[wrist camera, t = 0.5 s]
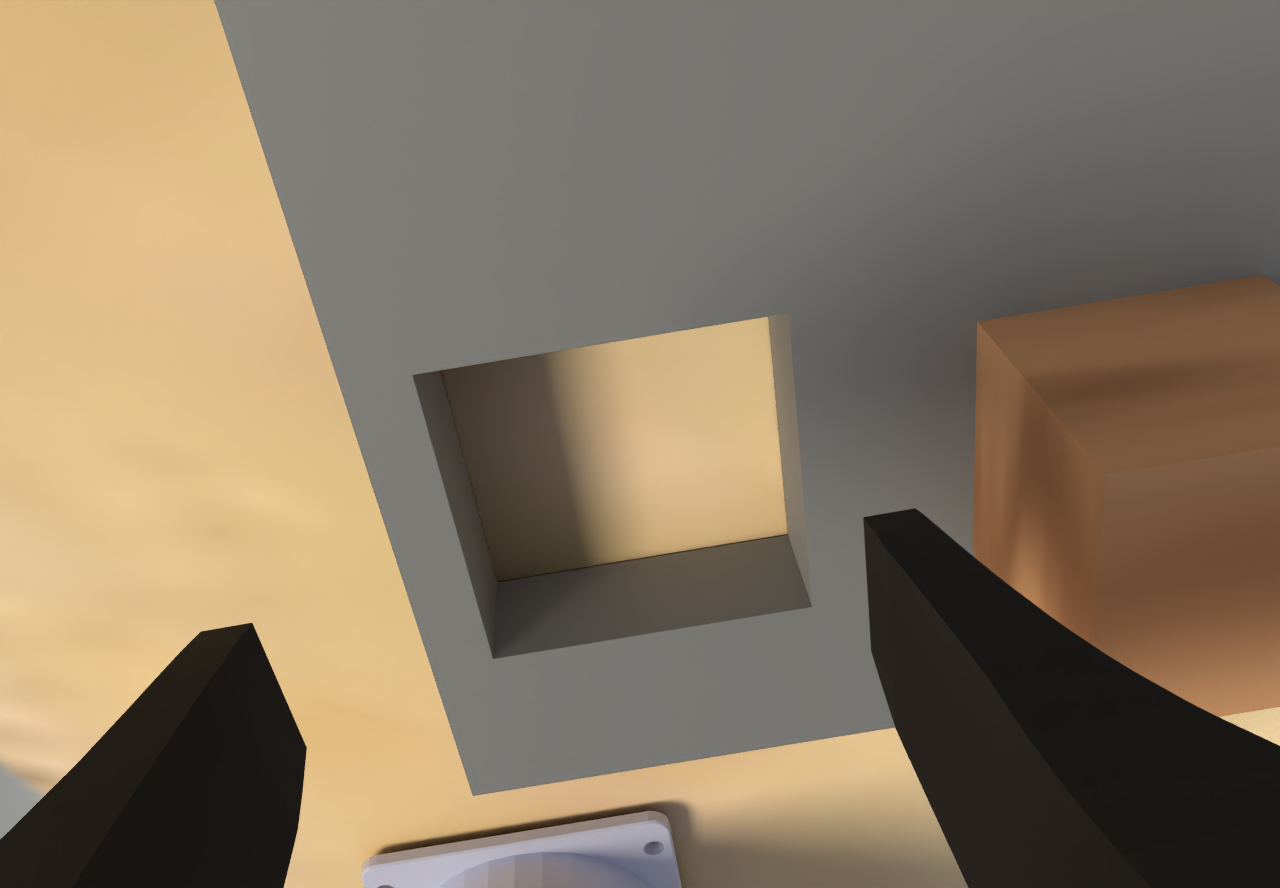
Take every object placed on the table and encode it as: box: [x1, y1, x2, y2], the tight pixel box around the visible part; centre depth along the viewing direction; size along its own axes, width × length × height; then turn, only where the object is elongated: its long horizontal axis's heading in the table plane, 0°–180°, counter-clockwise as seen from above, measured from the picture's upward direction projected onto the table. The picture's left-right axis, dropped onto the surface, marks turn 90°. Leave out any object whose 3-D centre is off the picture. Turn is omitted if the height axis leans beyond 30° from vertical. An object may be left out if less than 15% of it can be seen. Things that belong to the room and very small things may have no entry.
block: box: [973, 275, 1280, 717], centre depth 18 cm, size 5×5×5 cm
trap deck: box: [214, 0, 1280, 796], centre depth 19 cm, size 20×30×4 cm, turn 98°
